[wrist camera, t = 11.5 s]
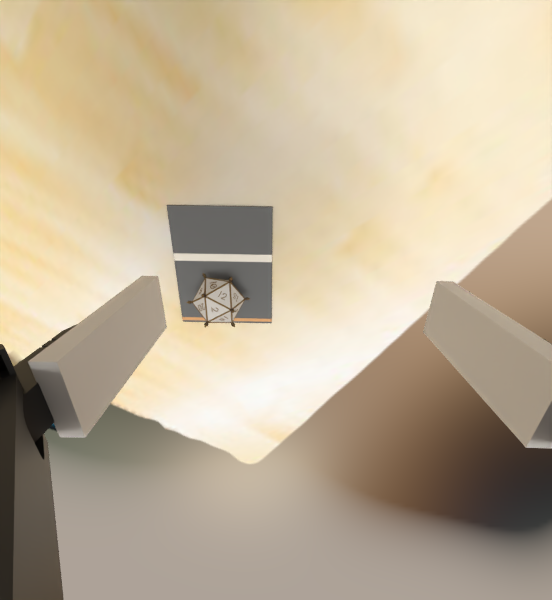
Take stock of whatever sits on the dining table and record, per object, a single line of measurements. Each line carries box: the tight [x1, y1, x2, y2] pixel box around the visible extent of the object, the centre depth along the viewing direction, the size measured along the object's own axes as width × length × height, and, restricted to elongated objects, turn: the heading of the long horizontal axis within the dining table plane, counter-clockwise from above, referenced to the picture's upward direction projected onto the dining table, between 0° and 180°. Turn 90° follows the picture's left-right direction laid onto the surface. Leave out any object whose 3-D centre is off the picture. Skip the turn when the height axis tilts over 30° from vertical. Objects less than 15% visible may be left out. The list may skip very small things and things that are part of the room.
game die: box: [186, 273, 250, 327], centre depth 45 cm, size 9×8×10 cm
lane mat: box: [167, 205, 272, 323], centre depth 47 cm, size 20×16×1 cm
